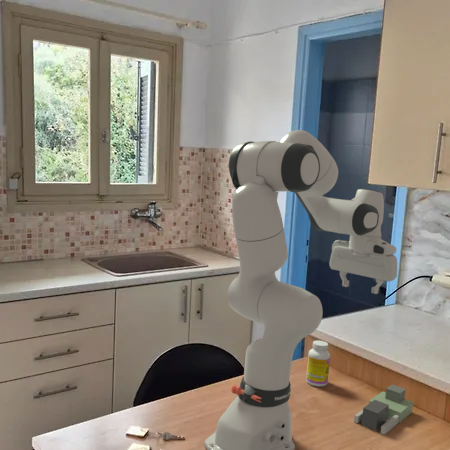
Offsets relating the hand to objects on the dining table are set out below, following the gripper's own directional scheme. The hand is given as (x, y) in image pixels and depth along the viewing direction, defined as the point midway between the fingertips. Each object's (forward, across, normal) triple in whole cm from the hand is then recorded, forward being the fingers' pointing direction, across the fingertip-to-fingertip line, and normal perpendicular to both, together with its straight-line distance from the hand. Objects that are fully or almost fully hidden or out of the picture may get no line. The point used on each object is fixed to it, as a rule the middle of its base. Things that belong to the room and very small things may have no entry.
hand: (359, 289), depth 154 cm
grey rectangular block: (+31, +15, -14) cm, 38 cm away
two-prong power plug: (+31, +15, -9) cm, 36 cm away
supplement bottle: (+31, -9, -4) cm, 33 cm away
